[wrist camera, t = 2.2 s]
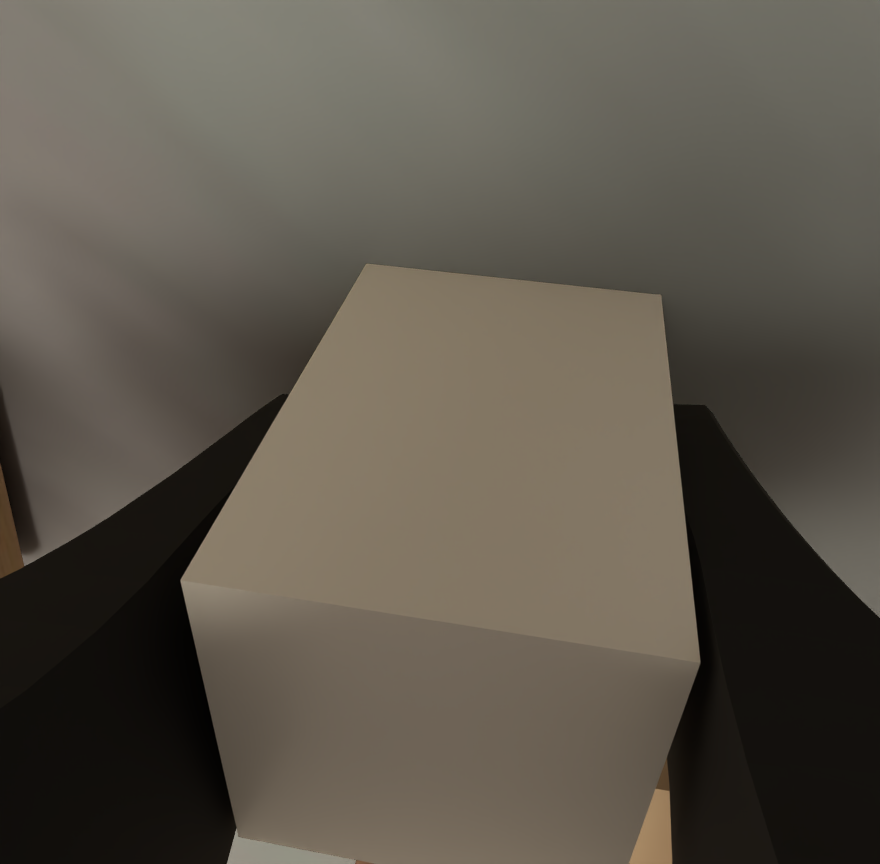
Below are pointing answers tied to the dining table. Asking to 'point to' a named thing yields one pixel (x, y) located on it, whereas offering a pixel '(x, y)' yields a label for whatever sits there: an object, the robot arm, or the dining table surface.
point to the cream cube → (456, 581)
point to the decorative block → (8, 535)
